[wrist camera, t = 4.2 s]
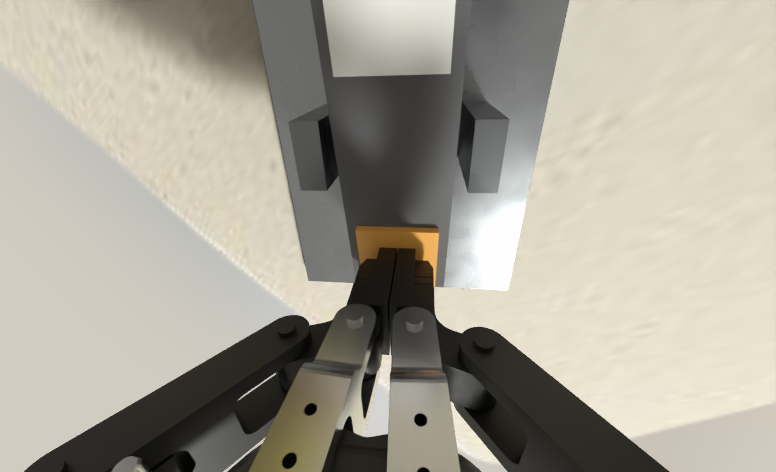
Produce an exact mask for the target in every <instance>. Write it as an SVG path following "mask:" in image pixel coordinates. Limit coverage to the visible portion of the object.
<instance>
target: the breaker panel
mask: <svg viewBox="0 0 776 472" xmlns="http://www.w3.org/2000/svg"><path fill="white" fill-rule="evenodd" d="M252 1H253V6H254V11H255V16H256V21H257V26H258V31H259V36H260V41H261V46H262V51H263V56H264V61H265V66H266V71H267V76H268V81H269V86H270V91H271V96H272V101H273V106H274V111H275V116H276V121H277V126H278V131H279V136H280V141H281V146H282V151H283V156H284V161H285V166H286V171H287V176H288V181H289V186H290V191H291V196H292V201H293V206H294V211H295V216H296V221H297V226H298V231H299V236H300V241H301V246H302V251H303V256H304V261H305V266H306V271H307V275H308V280H309V281H325V282H345V283H354V282H355V273H354V267H353V261H352V255H351V249H350V242H349V236H348V230H347V224H346V218H345V211H344V205H343V199H342V193H341V187H340V181H339V174H338V168H337V162H336V156H335V150H334V144H333V137H332V131H331V125H330V119H329V113H328V107H327V100H326V94H325V88H324V82H323V76H322V70H321V63H320V57H319V51H318V45H317V39H316V32H315V26H314V20H313V14H312V8H311V2H310V0H252ZM568 4H569V0H472V3H471V13H470V23H469V34H468V44H467V54H466V64H465V74H464V85H463V95H462V105H461V115H460V126H459V136H458V146H457V156H456V166H455V177H454V187H453V197H452V207H451V218H450V228H449V238H448V248H447V258H446V269H445V279H444V287H449V288H469V289H490V290H508V287H509V282H510V277H511V273H512V268H513V263H514V259H515V254H516V249H517V244H518V240H519V235H520V230H521V226H522V221H523V216H524V211H525V207H526V202H527V197H528V192H529V188H530V183H531V178H532V174H533V169H534V164H535V159H536V155H537V150H538V145H539V141H540V136H541V131H542V126H543V122H544V117H545V112H546V107H547V103H548V98H549V93H550V89H551V84H552V79H553V74H554V70H555V65H556V60H557V56H558V51H559V46H560V41H561V37H562V32H563V27H564V22H565V18H566V13H567V8H568Z"/></svg>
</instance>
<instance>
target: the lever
mask: <svg viewBox="0 0 776 472" xmlns="http://www.w3.org/2000/svg"><path fill="white" fill-rule="evenodd" d="M310 2H311V8H312V14H313V20H314V26H315V32H316V39H317V45H318V51H319V57H320V63H321V70H322V76H323V82H324V88H325V94H326V100H327V107H328V113H329V119H330V125H331V131H332V137H333V144H334V150H335V156H336V162H337V168H338V174H339V181H340V187H341V193H342V199H343V205H344V211H345V218H346V224H347V230H348V236H349V242H350V249H351V255H352V261H353V267H354V273H355V278H356V275H357V272H358V269H359V266H360V265H361V264H362V263H363V262H364V261H365V260H366V259H367V258H369V259H377V256H378V252H379V248H380V247H381V248H397V253H398V248H411V249H416V253H415V260H424V261H429V263H430V264H431V266H432V267H433V274H434V287H444V279H445V269H446V258H447V248H448V238H449V228H450V218H451V207H452V197H453V187H454V177H455V166H456V156H457V146H458V136H459V126H460V115H461V105H462V95H463V85H464V74H465V64H466V54H467V44H468V34H469V23H470V13H471V3H472V0H310Z"/></svg>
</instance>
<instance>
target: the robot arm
mask: <svg viewBox="0 0 776 472" xmlns="http://www.w3.org/2000/svg"><path fill="white" fill-rule="evenodd" d="M415 253H416V249H411V248H398V253H397V248H381V247H380V248H379V252H378V256H377V259H369V258H367V259H366V260H365V261H364V262H363V263H362V264H361V265H360V266H359V269H358V272H357V275H356V278H355V282H354V284H353V287H352V290H351V293H350V296H349V299H348V302H347V305H346V306H345V307H343V308H342V309H340V310H339V311H338V312H337V313H336V315H335V317H334V319H333V320H331V321H329V322H325V323H320V324H315V325H310V326H309V323H308V321H307V320H306V319H305V318H304V317H302V316H298V315H289V316H285V317H282V318H279V319H277V320H276V321H274V322H272V323H270V324H269V325H267V326H265V327H264V328H262V329H260V330H259V331H257V332H255V333H253V334H251V335H250V336H248V337H246V338H245V339H243V340H241V341H239V342H238V343H236V344H234V345H233V346H231V347H229V348H227V349H226V350H224V351H222V352H221V353H219V354H217V355H215V356H214V357H212V358H210V359H209V360H207V361H205V362H204V363H202V364H200V365H198V366H197V367H195V368H193V369H192V370H190V371H188V372H186V373H185V374H183V375H181V376H180V377H178V378H176V379H174V380H173V381H171V382H169V383H167V384H166V385H164V386H162V387H161V388H159V389H157V390H155V391H154V392H152V393H150V394H149V395H147V396H145V397H143V398H142V399H140V400H138V401H137V402H135V403H133V404H131V405H130V406H128V407H126V408H125V409H123V410H121V411H119V412H118V413H116V414H114V415H113V416H111V417H109V418H107V419H106V420H104V421H102V422H101V423H99V424H97V425H95V426H94V427H92V428H90V429H88V430H87V431H85V432H83V433H82V434H80V435H78V436H77V437H75V438H73V439H71V440H70V441H68V442H66V443H65V444H63V445H61V446H59V447H58V448H56V449H54V450H52V451H51V452H49V453H47V454H46V455H44V456H43V457H41V458H40V459H39V460H37V461H36V462H34V463H33V464H32V465H31V466H30V467H28V468H27V469H26V470H25V471H24V472H223V471H224V470H225V469H227V468H228V467H229V466H230V465H232V464H233V463H234V462H235V461H236V460H238V459H239V458H240V457H241V456H243V455H244V454H245V453H246V452H248V451H249V450H250V449H251V448H252V447H254V446H255V445H256V444H257V443H258V442H260V441H261V440H262V439H263V438H265V437H266V438H265V440H264V442H263V444H261V445H260V446H258V447H257V448H256V449H254V450H252V451H251V452H250V453H249V454H248V455H246V456H245V457H244V458H243V459H242V460H240V461H239V462H238V463H237V464H236V465H235V466H233V467H232V468H231V469H230V470H229V471H228V472H481V471H480V470H479V469H478V468H477V467H476V466H474V465H473V464H472V463H471V462H470V461H469V460H467V459H466V458H464V457H463V456H462V455H460V454H458V451H457V444H456V437H455V430H454V424H453V417H452V410H451V403H450V401H451V402H453V403H454V406H455V408H456V410H457V411H458V413H459V414H460V415H461V416H462V418H463V419H464V420H465V421H466V422H467V424H468V425H469V426H470V427H471V428H472V430H473V431H474V432H475V433H476V434H477V435H478V437H479V438H480V439H481V440H482V441H483V443H484V444H485V445H486V446H487V447H488V449H489V450H490V451H491V452H492V453H493V455H494V456H495V457H496V458H497V459H498V461H499V462H500V463H501V464H502V465H503V467H504V468H505V469H506V470H507V471H508V472H669V471H668V470H667V469H665V468H664V467H663V466H662V465H660V464H659V463H658V462H657V461H656V460H654V459H653V458H652V457H651V456H649V455H648V454H647V453H646V452H644V451H643V450H642V449H641V448H639V447H638V446H637V445H636V444H635V443H633V442H632V441H631V440H630V439H628V438H627V437H626V436H625V435H623V434H622V433H621V432H620V431H618V430H617V429H616V428H615V427H614V426H612V425H611V424H610V423H609V422H607V421H606V420H605V419H604V418H602V417H601V416H600V415H599V414H597V413H596V412H595V411H594V410H593V409H591V408H590V407H589V406H588V405H586V404H585V403H584V402H583V401H581V400H580V399H579V398H578V397H576V396H575V395H574V394H573V393H572V392H570V391H569V390H568V389H567V388H565V387H564V386H563V385H562V384H560V383H559V382H558V381H557V380H555V379H554V378H553V377H552V376H551V375H549V374H548V373H547V372H546V371H544V370H543V369H542V368H541V367H539V366H538V365H537V364H536V363H534V362H533V361H532V360H531V359H530V358H528V357H527V356H526V355H525V354H523V353H522V352H521V351H520V350H518V349H517V348H516V347H515V346H514V345H512V344H511V343H510V342H509V341H507V340H506V339H505V338H504V337H502V336H501V335H500V334H498V333H497V332H495V331H494V330H491V329H488V328H484V327H473V328H469V329H467V330H466V331H464V332H463V333H458V332H455V331H452V330H450V329H448V328H446V327H444V326H443V325H442V324H441V323H440V322H439V321H438V320H437V318H436V316H435V311H434V274H433V267H432V266H431V264H430V263H429V261H424V260H415ZM390 345H391V355H392V365H391V373H390V394H389V425H388V434H386V435H380V436H375V437H366V431H367V425H368V421H369V417H370V412H371V408H372V404H373V400H374V396H375V391H376V387H377V383H378V379H379V374H380V369H379V368H380V365H381V359H382V354H383V355H389V353H390ZM274 373H276V375H275V376H273V377H272V378H270V379H269V380H267V381H266V382H264V383H263V384H262V385H260V386H259V387H257V388H256V389H255V390H253V391H252V392H250V393H249V394H247V395H246V396H244V397H243V398H242V399H240V400H239V401H238V399H239V398H240V397H241V396H243V395H244V394H245V393H247V392H248V391H250V390H251V389H252V388H254V387H255V386H257V385H258V384H260V383H261V382H263V381H264V380H265V379H267V378H268V377H270V376H271V375H273V374H274Z"/></svg>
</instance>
